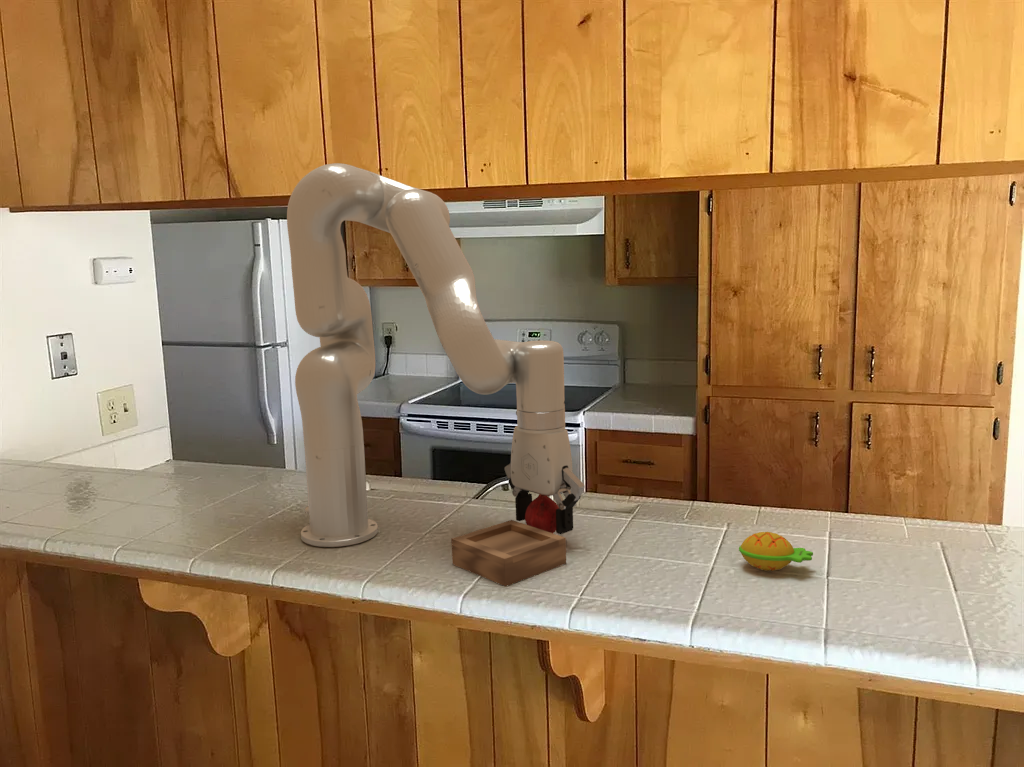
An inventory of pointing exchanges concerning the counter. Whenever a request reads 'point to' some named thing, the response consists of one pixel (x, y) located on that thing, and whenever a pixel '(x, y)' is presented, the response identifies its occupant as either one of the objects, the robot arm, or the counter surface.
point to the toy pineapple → (771, 551)
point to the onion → (542, 514)
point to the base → (508, 552)
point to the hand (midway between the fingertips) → (544, 525)
